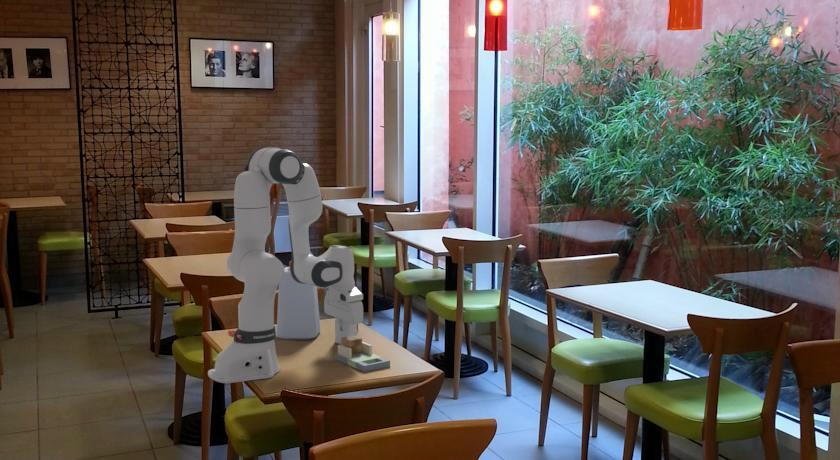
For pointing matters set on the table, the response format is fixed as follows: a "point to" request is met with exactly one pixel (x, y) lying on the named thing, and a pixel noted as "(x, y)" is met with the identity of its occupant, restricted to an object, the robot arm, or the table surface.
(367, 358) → the grey tray
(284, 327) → the plastic bottle
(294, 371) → the table surface
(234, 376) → the robot arm
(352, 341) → the block
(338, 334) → the milk bottle
